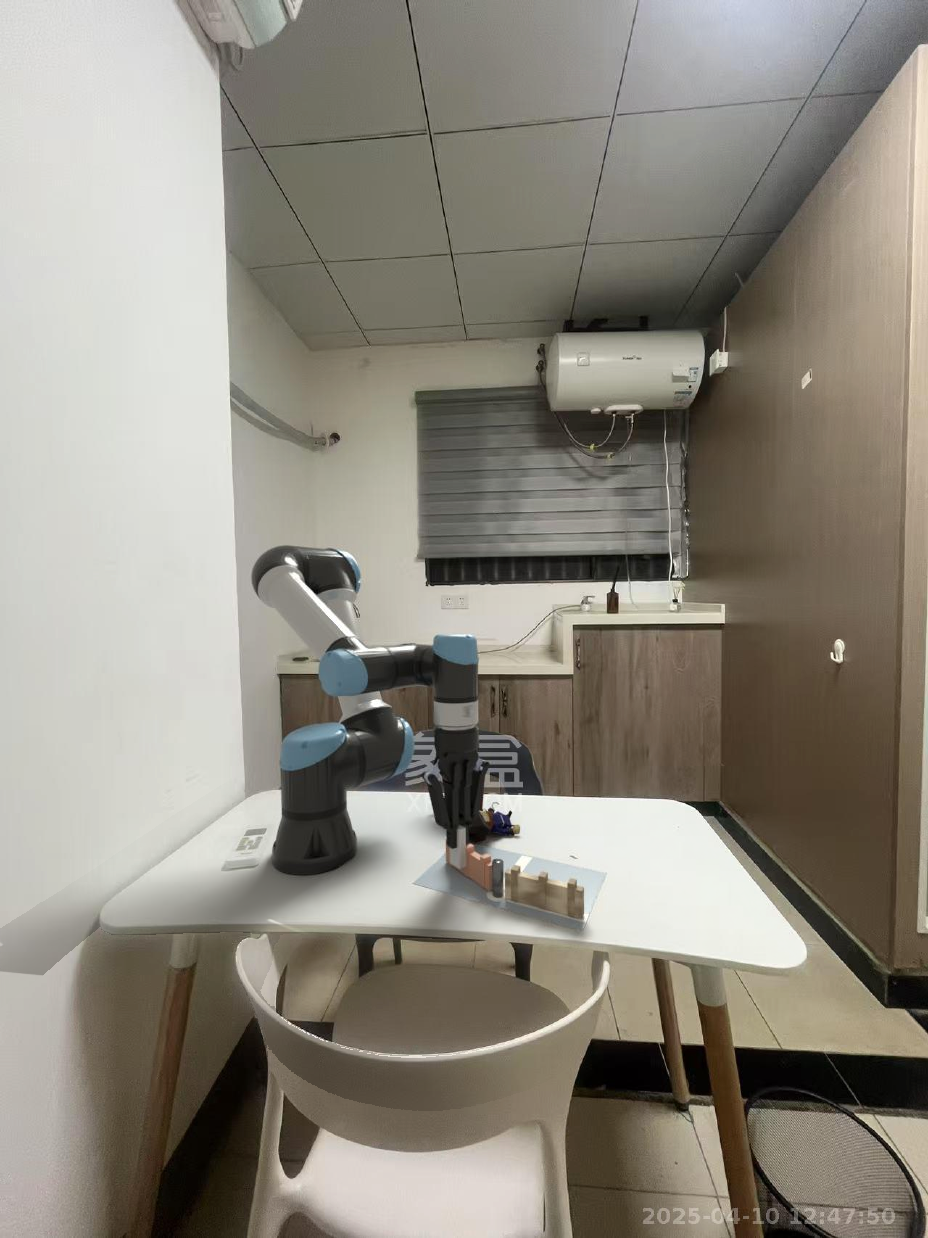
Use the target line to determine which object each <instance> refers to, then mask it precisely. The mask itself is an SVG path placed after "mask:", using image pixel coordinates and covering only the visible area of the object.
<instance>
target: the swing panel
mask: <svg viewBox="0 0 928 1238" xmlns="http://www.w3.org/2000/svg"><path fill="white" fill-rule="evenodd" d="M445 853H446V862H448V863H449V865H451V866H453V867H455V868H456V869H458V870H459V871H461V872H462V873H464V875H465V876H467V877H470V878H471V879H472V880H474V881H475V882H477V883H478V884H480V886H482V887H483V888H486V889H487V890H489V891H491V890H492V862H491V856H490V855H489V854H485V855H482V856H481V855H480V854H478V853H476V852H475V851H474V845H472V844H469V845H466V867H463V868H461V869H459V868H457V867H456V866H454V865H452V864H451V863H450V847H448V846H447V844H446V843H445Z"/></svg>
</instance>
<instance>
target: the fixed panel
mask: <svg viewBox="0 0 928 1238" xmlns="http://www.w3.org/2000/svg"><path fill="white" fill-rule="evenodd" d="M505 898H507V899H511V900H512V901H516V902H522V903H526V904H529V905H533V906H537V907H539V908H542V909H548V910H552V911H555V912H559V913H563V914H567V915H568V916H572V917H578V918H581V919H582V918H583V916H584V887H581V886H577V879H573V878H570V879H569V881H568V883H565V882H561V881H557V880H552V879H548V873H547V872H543V871H541V873H540V874H539V876H536V875H532V874H527V873H523V872H521V869H520V866H517V865H514V866H513V867H512V869H507V870H506V871H505Z"/></svg>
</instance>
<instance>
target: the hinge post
mask: <svg viewBox="0 0 928 1238" xmlns="http://www.w3.org/2000/svg"><path fill="white" fill-rule="evenodd" d="M492 895H493V897H495V898H501V897H503V896H504V862H503V860H501V859H494V860H492Z"/></svg>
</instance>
